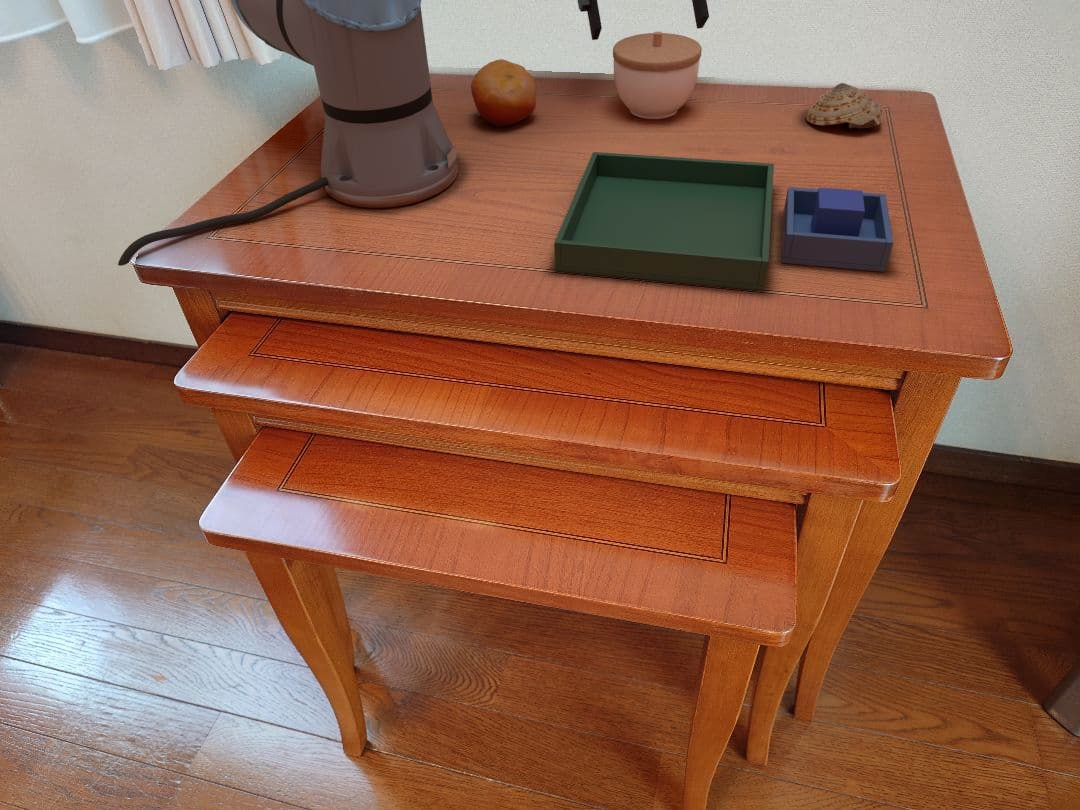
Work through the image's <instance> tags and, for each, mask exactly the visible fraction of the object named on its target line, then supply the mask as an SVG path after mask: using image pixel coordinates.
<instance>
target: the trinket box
mask: <svg viewBox="0 0 1080 810" xmlns="http://www.w3.org/2000/svg"><path fill="white" fill-rule="evenodd" d="M702 51H703V50H702V45H701V44H700V43H699V42H698V40H695V39H694V38H691V37H688V36H685V35H681V34H676V33H668V32H662V31H654V32H647V33H640V34H634V35H630V36H627V37H624V38H622V39H620V40H619V41H617V42H616V43H615V44H614V45H613V47H612V58H613V77H614V84H615V85H614V86H615V88H616V92H617V95H618V97H619V99H620V100H621V102H622V103H623V104H624V105H625V107H627V108H628V109H629V112H630V114H632V115H633V116H635V117H638V118H641V119H645V120H646V119H647V120H662V119H668V118H671V117H673V116H674V115H676V114H677V113H678V110H679V109H680V108H681V107H683V106H684V105H685V104H686V103H687V102H688V100H689V99H690V97H691V96H692V94H693V92H694V90H695V86H696V83H697V80H698V77H699V72H700V71H699V69H700V60H701V58H702Z"/></svg>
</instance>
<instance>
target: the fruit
mask: <svg viewBox="0 0 1080 810" xmlns="http://www.w3.org/2000/svg"><path fill="white" fill-rule="evenodd" d="M470 90H471V95H472V99H473V103H474V106H475V109H476V111H477V112H478V113H479V114H478V115H477V117H482V118H483V119H484V121H486V122H488V123H489V124H492V125H494V126H495V127H497V128H505V127H508V126H511V125H514V124H517V123H518V122H520V121H523V120H525V119H526V118H528V117H529V116H530V115H531V114H532V113H533V112H534V111H535V110H536V106H537V89H536V80H535V78H534V77H533V76H532V75H531V74H530V73H529V72H528V70H527V69H526V68H525V66H523V65H521V64H518V63H515V62H512V61H508V60H507V59H503V58H500V59H496V60H493V61H489V62H488V63H487V64H485V65H484V66H482V67H481V68H480V69H479V70H478V71H477V73H475V75H474V77H473V79H472V81H471V83H470Z"/></svg>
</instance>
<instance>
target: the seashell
mask: <svg viewBox="0 0 1080 810" xmlns="http://www.w3.org/2000/svg"><path fill="white" fill-rule="evenodd" d="M805 119H806V121H807V122H808V123H810V124H813V125H816V126H817V125H818V126H828V125H830V126H831V125H839V124H845V123H848V125H847V127H848V128H849V129H853V128H854V129H855V128H857V129H866V128H872V127H877V126H879V125H880V124H881V123H882V122H883V119H884V112H883V110H882V107H881V106H880V105H879V103H878V102H877V101H875V100H874V99H872V98H871V97H869V95H867V93H865V92H863V91H862V89H860V88H858V87H856V86H852V85H850V84H847V83H844V82H840V83H838V84H836V85H835V86H833V87H831V88H830V89H828V90H827V91H826V92H824V93H823V94H822V95H820V96H819V97H818V98H817V100H816V101H815V102H813V104H811V106H810V107H809V108H808V110H807V113H806V116H805Z"/></svg>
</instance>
